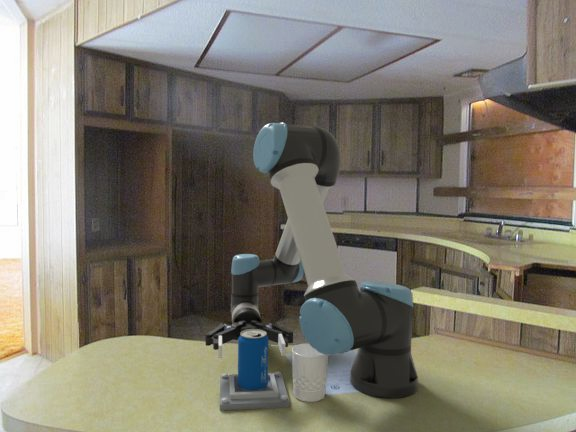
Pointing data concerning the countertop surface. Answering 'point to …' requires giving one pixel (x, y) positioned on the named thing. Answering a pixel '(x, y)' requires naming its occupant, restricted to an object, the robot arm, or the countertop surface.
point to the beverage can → (253, 360)
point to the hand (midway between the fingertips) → (252, 350)
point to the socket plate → (252, 394)
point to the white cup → (309, 373)
